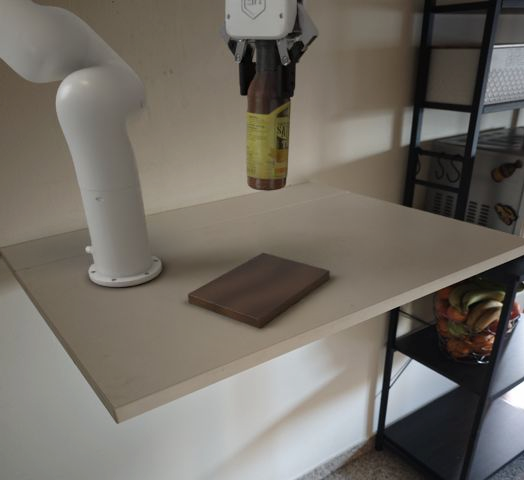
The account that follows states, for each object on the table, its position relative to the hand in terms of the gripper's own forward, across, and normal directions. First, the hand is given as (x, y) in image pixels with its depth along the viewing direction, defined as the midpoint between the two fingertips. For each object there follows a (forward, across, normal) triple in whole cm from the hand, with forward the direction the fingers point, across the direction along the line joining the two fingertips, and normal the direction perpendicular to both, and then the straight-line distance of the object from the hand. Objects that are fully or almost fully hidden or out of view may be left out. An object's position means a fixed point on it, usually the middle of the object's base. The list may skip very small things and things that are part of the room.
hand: (266, 94), depth 70 cm
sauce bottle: (+13, 0, 0) cm, 13 cm away
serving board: (+28, +2, -4) cm, 29 cm away
